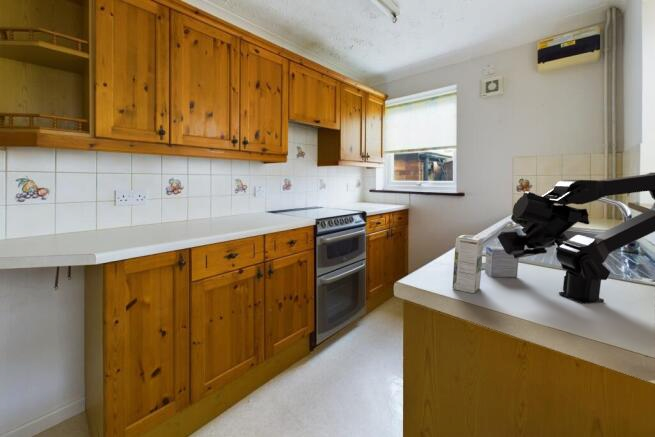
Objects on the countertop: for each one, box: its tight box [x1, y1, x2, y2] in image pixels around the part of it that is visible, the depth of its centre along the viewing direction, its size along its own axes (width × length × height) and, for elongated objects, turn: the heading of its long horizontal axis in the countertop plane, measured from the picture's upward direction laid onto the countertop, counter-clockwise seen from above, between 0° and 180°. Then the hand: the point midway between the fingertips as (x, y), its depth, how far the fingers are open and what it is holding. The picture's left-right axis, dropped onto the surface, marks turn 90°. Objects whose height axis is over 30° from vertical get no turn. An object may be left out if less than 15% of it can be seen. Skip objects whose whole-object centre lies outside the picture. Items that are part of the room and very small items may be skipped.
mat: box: [481, 262, 485, 271], centre depth 103 cm, size 6×10×1 cm, turn 101°
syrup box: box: [452, 234, 485, 294], centre depth 82 cm, size 6×6×14 cm
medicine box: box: [484, 246, 520, 278], centre depth 94 cm, size 8×4×9 cm, turn 84°
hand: (515, 256), depth 89 cm, fingers closed
